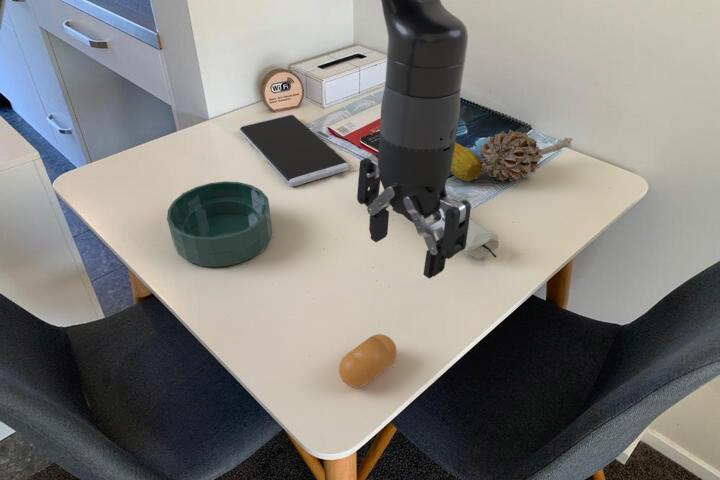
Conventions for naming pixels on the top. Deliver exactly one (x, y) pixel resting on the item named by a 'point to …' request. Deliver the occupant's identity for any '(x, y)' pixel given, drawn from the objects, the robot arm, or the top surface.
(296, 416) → the top surface
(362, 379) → the bread roll
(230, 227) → the green round bowl
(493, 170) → the pine cone
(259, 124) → the smartphone
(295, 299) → the top surface
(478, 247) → the faceted club
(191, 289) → the top surface
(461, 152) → the food
